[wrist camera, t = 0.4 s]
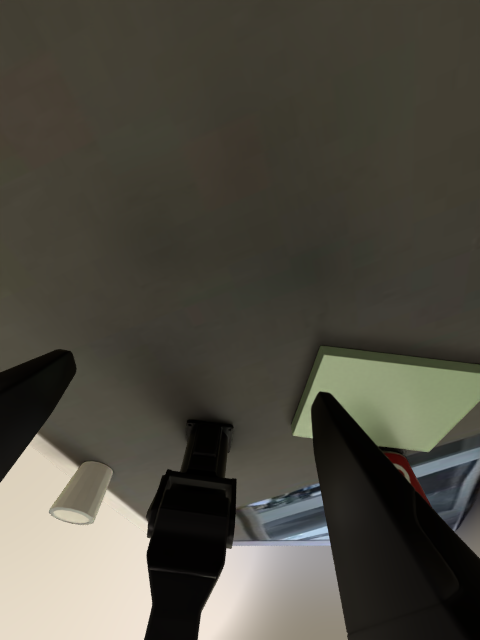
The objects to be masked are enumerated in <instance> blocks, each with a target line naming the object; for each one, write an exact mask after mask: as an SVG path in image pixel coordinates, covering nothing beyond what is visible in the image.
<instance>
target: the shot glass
mask: <svg viewBox="0 0 480 640" xmlns="http://www.w3.org/2000/svg"><path fill="white" fill-rule="evenodd" d="M112 474H113V471H112V469H111V468H110V467H108V466H107V465H105V464H102V463H99V462H94V461H86V462H84V463H82V464H81V466H80V467H79V469H78V470H77V471H76V473H75V474H74V476H73V477H72V478H71V480H70V481H69V483H68V484H67V486H66V487H65V488H64V490H63V491H62V493H61V494H60V496H59V497H58V498H57V500H56V501H55V502H54V504H53V505H52V507H51V508H50V510H49V513H50V514H51V515H52V516H53V517H55V518H57V519H59V520H62V521H64V522H68V523H72V524H78V525H88V524H92V523H93V522H94V520H95V518H96V515H97V513H98V510H99V507H100V505H101V502H102V500H103V497H104V495H105V492H106V490H107V487H108V484H109V482H110V479H111V477H112Z"/></svg>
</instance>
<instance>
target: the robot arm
mask: <svg viewBox="0 0 480 640" xmlns="http://www.w3.org/2000/svg"><path fill="white" fill-rule="evenodd" d="M75 373H76V364H75V360H74V357H73V354H72V352H71V351H68V350H61V349H58V350H54V351H52V352H50V353H47V354H45V355H42V356H40V357H37V358H35V359H32V360H30V361H27V362H25V363H22V364H20V365H18V366H15V367H13V368H10V369H8V370H5V371H3V372H0V482H1V481H2V480H3V478H4V477H5V476H6V474H7V473H8V472H9V470H10V469H11V468H12V466H13V465H14V464H15V462H16V461H17V459H18V458H19V457H20V455H21V454H22V453H23V451H24V450H25V449H26V447H27V446H28V445H29V443H30V442H31V441H32V439H33V438H34V437H35V435H36V434H37V432H38V431H39V430H40V428H41V427H42V426H43V424H44V423H45V422H46V420H47V419H48V417H49V416H50V415H51V413H52V412H53V410H54V409H55V407H56V405H57V404H58V402H59V400H60V399H61V397H62V395H63V394H64V392H65V390H66V389H67V387H68V385H69V384H70V382H71V380H72V379H73V377H74V375H75ZM311 421H312V435H313V447H314V456H315V462H316V467H317V473H318V478H319V484H320V489H321V494H322V500H323V505H324V511H325V516H326V522H327V527H328V533H329V538H330V543H331V549H332V554H333V560H334V565H335V571H336V576H337V581H338V587H339V592H340V598H341V603H342V609H343V614H344V619H345V625H346V630H347V633H348V635H347V637H348V640H480V558H479V557H478V556H477V555H476V554H475V553H474V552H473V551H472V550H471V549H470V548H469V547H468V546H467V545H466V544H465V543H464V542H463V541H462V540H461V538H459V537H458V535H457V534H456V533H455V532H454V531H453V530H452V529H451V528H450V527H449V526H448V525H447V524H446V523H445V521H444V520H443V519H442V518H441V517H440V516H439V515H438V514H437V513H436V512H435V510H434V509H433V508H432V507H431V506H430V505H429V504H428V503H427V502H426V500H425V499H424V498H423V497H422V496H421V495H420V494H419V492H417V491H415V488H414V487H413V486H412V485H411V484H410V482H409V481H408V480H407V479H406V478H405V477H404V476H403V474H402V473H401V472H400V471H399V470H398V469H397V468H396V467H395V465H394V464H393V463H392V462H391V461H390V460H389V459H388V457H387V456H386V455H385V454H384V453H383V452H382V451H381V450H380V448H379V447H378V446H377V445H376V444H375V443H374V442H373V440H372V439H371V438H370V437H369V436H368V435H367V434H366V432H365V431H364V430H363V429H362V428H361V427H360V426H359V425H358V423H357V422H356V421H355V420H354V419H353V418H352V417H351V415H350V414H349V413H348V412H347V411H346V410H345V409H344V408H343V406H342V405H341V404H340V403H339V402H338V401H337V400H336V398H335V397H334V396H333V395H332V394H331V393H328V392H322V391H320V392H318V393H317V395H316V397H315V399H314V401H313V403H312V406H311ZM186 428H187V447H186V451H185V455H184V459H183V462H182V466H181V470H180V472H178V471H172V470H169V469H167V472H166V474H165V475H163V476H162V478H161V482H160V485H159V488H158V490H157V493H156V495H155V497H154V499H153V501H152V503H151V505H150V507H149V509H148V511H147V515H146V518H147V521H148V531H147V537H148V538H151V539H150V543H149V546H148V550H147V564H148V572H149V580H150V588H151V596H152V609H151V613H150V618H149V622H148V626H147V630H146V634H145V638H144V640H198V632H199V624H200V617H201V612H202V610H203V608H204V606H205V604H206V602H207V600H208V598H209V596H210V594H211V592H212V590H213V588H214V586H215V585H216V582H217V581H218V578H219V576H220V574H221V572H222V569H223V567H224V564H225V556H226V548H229V549H231V548H232V544H233V537H234V528H235V514H236V479H234V478H232V479H228V478H225V471H226V462H227V453H229V452H230V448H231V441H232V434H233V426H232V425H226V424H218V423H209V422H201V421H193V420H188V421H187V424H186Z"/></svg>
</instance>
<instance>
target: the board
mask: <svg viewBox="0 0 480 640" xmlns="http://www.w3.org/2000/svg"><path fill="white" fill-rule="evenodd" d="M320 391H322V392H328V393H331V394H332V395H333V396H334V397H335V398H336V400H337V401H338V402H339V403H340V404H341V405H342V406H343V408H344V409H345V410H346V411H347V412H348V413H349V414H350V415H351V417H352V418H353V419H354V420H355V421H356V422H357V423H358V425H359V426H360V427H361V428H362V429H363V430H364V431H365V432H366V434H367V435H368V436H369V437H370V438H371V439H372V440H373V442H374V443H375V444H376V445H377V446H383V447H391V448H400V449H408V450H416V451H425V452H429V451H430V450H431V449H432V448H433V447H434V446H435V445H436V444H437V443H438V442H439V441H440V440H441V439H442V438H443V437H444V436H445V435H446V434H447V433H448V432H449V431H450V430H451V429H452V428H453V427H454V426H455V425H456V424H457V423H458V422H459V421H460V420H461V419H462V418H463V417H464V416H465V415H466V414H467V413H468V412H469V411H470V410H471V409H472V408H473V407H474V406H475V405H476V404H477V403H478V402H479V401H480V365H478V364H470V363H462V362H453V361H445V360H437V359H428V358H420V357H412V356H404V355H395V354H387V353H379V352H370V351H362V350H354V349H346V348H337V347H329V346H320V349H319V351H318V354H317V357H316V359H315V362H314V365H313V368H312V370H311V373H310V376H309V378H308V381H307V384H306V387H305V389H304V392H303V395H302V397H301V400H300V403H299V406H298V408H297V411H296V414H295V416H294V419H293V422H292V425H291V428H292V435H293V436H300V437H308V438H313V435H312V421H311V406H312V403H313V401H314V399H315V397H316V395H317V393H318V392H320Z"/></svg>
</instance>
